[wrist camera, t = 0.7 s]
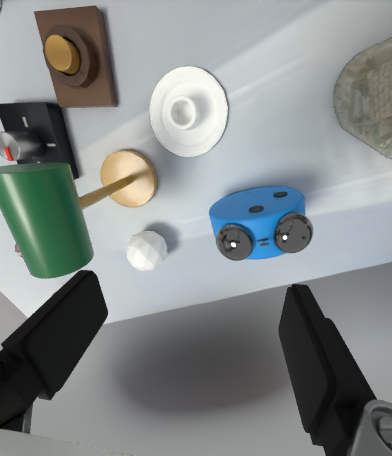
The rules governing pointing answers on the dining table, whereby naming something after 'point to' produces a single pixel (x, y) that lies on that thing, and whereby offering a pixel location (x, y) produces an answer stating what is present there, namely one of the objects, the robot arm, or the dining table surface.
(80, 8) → the switch block
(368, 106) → the ceramic cottage
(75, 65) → the button
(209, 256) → the dining table surface
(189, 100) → the candle holder
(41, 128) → the dimmer panel
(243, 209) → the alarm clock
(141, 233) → the geometric ball
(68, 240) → the desk lamp
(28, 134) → the dimmer knob
